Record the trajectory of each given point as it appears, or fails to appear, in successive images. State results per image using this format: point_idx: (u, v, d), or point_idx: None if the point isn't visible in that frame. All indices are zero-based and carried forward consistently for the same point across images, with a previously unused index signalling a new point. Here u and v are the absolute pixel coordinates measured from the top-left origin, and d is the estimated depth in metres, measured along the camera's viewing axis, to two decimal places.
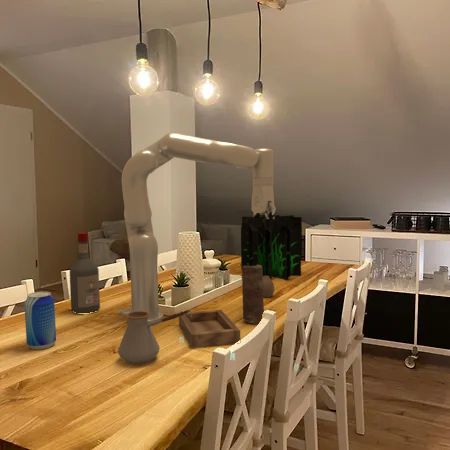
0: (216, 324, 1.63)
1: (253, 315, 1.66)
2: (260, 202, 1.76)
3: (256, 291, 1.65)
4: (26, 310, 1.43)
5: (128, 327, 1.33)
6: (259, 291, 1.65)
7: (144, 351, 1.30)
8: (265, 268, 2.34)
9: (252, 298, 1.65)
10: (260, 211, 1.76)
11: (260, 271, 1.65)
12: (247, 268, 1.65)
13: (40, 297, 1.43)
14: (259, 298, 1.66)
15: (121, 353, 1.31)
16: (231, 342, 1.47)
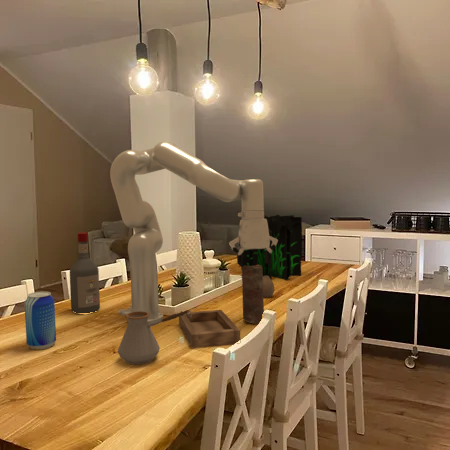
0: (216, 324, 1.63)
1: (253, 315, 1.66)
2: (264, 236, 1.65)
3: (256, 291, 1.65)
4: (26, 310, 1.43)
5: (128, 327, 1.33)
6: (259, 291, 1.65)
7: (144, 351, 1.30)
8: (265, 268, 2.34)
9: (252, 298, 1.65)
10: (265, 246, 1.65)
11: (260, 271, 1.65)
12: (247, 268, 1.65)
13: (40, 297, 1.43)
14: (259, 298, 1.66)
15: (121, 353, 1.31)
16: (231, 342, 1.47)
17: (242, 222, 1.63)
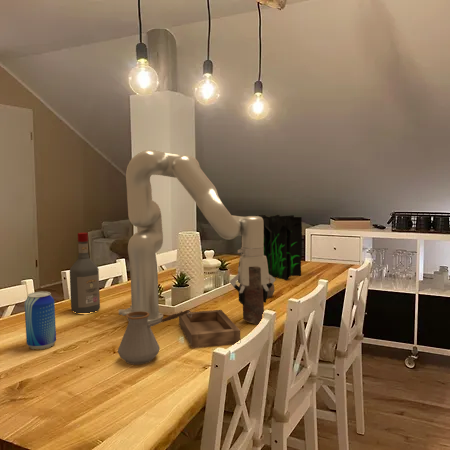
0: (216, 324, 1.63)
1: (253, 315, 1.66)
2: (263, 273, 1.66)
3: (256, 291, 1.65)
4: (26, 310, 1.43)
5: (128, 327, 1.33)
6: (259, 291, 1.65)
7: (144, 351, 1.30)
8: None
9: (252, 298, 1.65)
10: (264, 283, 1.66)
11: (260, 271, 1.65)
12: None
13: (40, 297, 1.43)
14: (259, 298, 1.66)
15: (121, 353, 1.31)
16: (231, 342, 1.47)
17: (242, 259, 1.65)
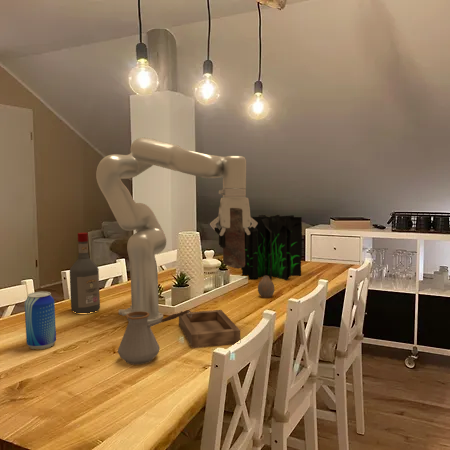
0: (216, 324, 1.63)
1: (234, 259, 1.59)
2: (245, 215, 1.59)
3: (238, 234, 1.58)
4: (26, 310, 1.43)
5: (128, 327, 1.33)
6: (240, 233, 1.59)
7: (144, 351, 1.30)
8: (265, 268, 2.34)
9: (233, 241, 1.58)
10: (245, 225, 1.59)
11: None
12: None
13: (40, 297, 1.43)
14: (240, 241, 1.59)
15: (121, 353, 1.31)
16: (231, 342, 1.47)
17: (223, 200, 1.57)
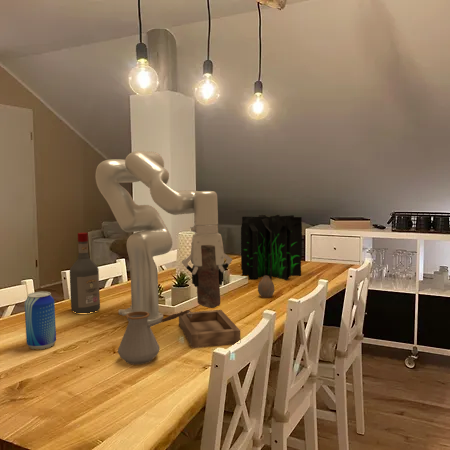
0: (216, 324, 1.63)
1: (208, 298, 1.52)
2: (218, 253, 1.53)
3: (210, 272, 1.52)
4: (26, 310, 1.43)
5: (128, 327, 1.33)
6: (213, 271, 1.52)
7: (144, 351, 1.30)
8: (265, 268, 2.34)
9: (206, 280, 1.52)
10: (219, 263, 1.53)
11: None
12: None
13: (40, 297, 1.43)
14: (214, 280, 1.52)
15: (121, 353, 1.31)
16: (231, 342, 1.47)
17: (194, 237, 1.51)
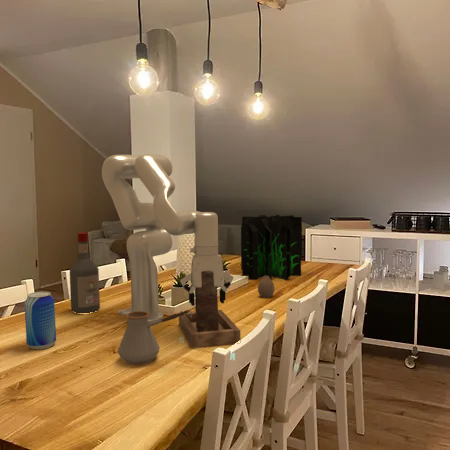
0: None
1: (206, 323, 1.53)
2: (218, 274, 1.53)
3: (209, 298, 1.53)
4: (26, 310, 1.43)
5: (128, 327, 1.33)
6: (212, 297, 1.53)
7: (144, 351, 1.30)
8: (265, 268, 2.34)
9: (205, 306, 1.53)
10: (218, 284, 1.54)
11: None
12: None
13: (40, 297, 1.43)
14: (212, 305, 1.53)
15: (121, 353, 1.31)
16: (231, 342, 1.47)
17: (194, 258, 1.52)
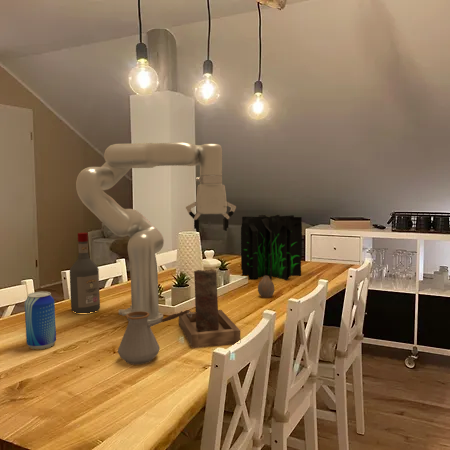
0: None
1: (206, 323, 1.53)
2: (221, 202, 1.64)
3: (209, 298, 1.53)
4: (26, 310, 1.43)
5: (128, 327, 1.33)
6: (212, 297, 1.53)
7: (144, 351, 1.30)
8: (265, 268, 2.34)
9: (205, 306, 1.53)
10: (221, 211, 1.64)
11: (214, 276, 1.53)
12: (199, 273, 1.52)
13: (40, 297, 1.43)
14: (212, 305, 1.53)
15: (121, 353, 1.31)
16: (231, 342, 1.47)
17: (199, 186, 1.63)
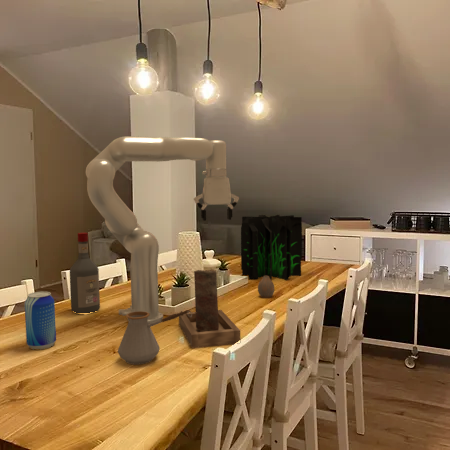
0: None
1: (206, 323, 1.53)
2: (226, 193, 1.80)
3: (209, 298, 1.53)
4: (26, 310, 1.43)
5: (128, 327, 1.33)
6: (212, 297, 1.53)
7: (144, 351, 1.30)
8: (265, 268, 2.34)
9: (205, 306, 1.53)
10: (226, 202, 1.80)
11: (214, 276, 1.53)
12: (199, 273, 1.52)
13: (40, 297, 1.43)
14: (212, 305, 1.53)
15: (121, 353, 1.31)
16: (231, 342, 1.47)
17: (205, 179, 1.78)
